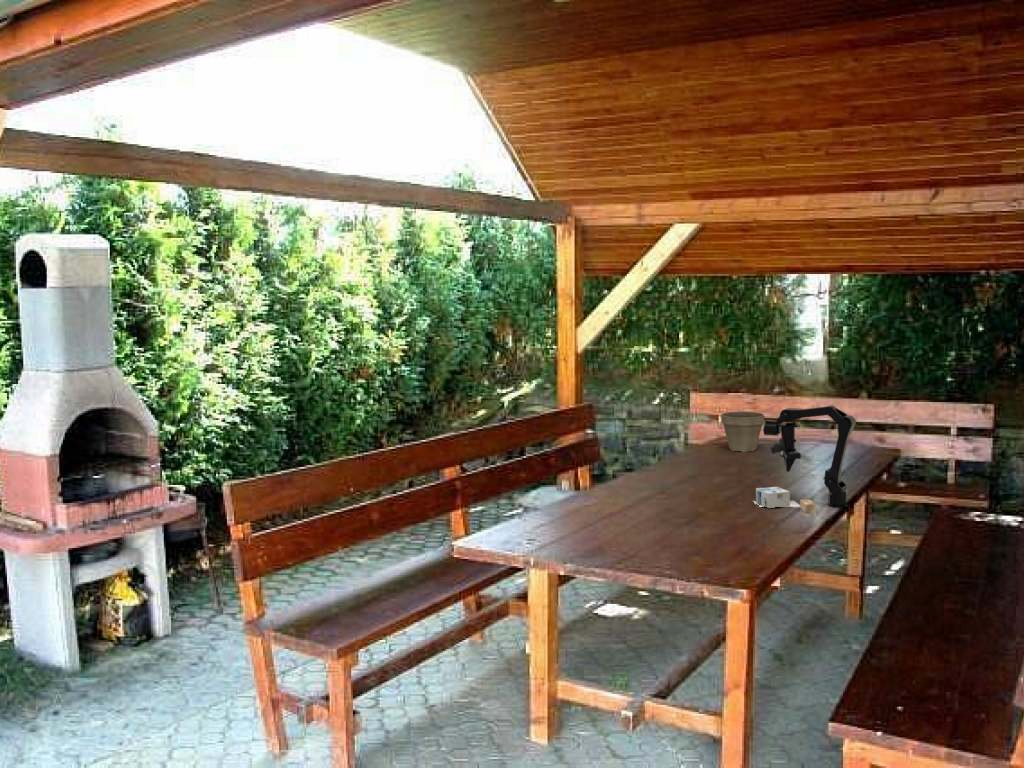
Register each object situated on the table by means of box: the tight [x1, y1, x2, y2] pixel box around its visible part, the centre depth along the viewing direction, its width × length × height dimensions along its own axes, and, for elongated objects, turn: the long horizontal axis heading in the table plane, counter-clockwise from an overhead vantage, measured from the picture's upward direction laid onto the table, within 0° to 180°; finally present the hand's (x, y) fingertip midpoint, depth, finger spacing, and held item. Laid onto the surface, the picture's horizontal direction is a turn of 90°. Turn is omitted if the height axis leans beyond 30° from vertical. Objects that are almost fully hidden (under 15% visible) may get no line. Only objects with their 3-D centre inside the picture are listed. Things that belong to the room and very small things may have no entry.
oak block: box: [799, 499, 817, 514], centre depth 382 cm, size 4×4×9 cm
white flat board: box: [752, 500, 800, 508], centre depth 394 cm, size 18×12×1 cm, turn 89°
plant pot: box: [720, 411, 765, 453], centre depth 534 cm, size 25×25×22 cm
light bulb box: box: [755, 486, 791, 509], centre depth 392 cm, size 11×7×11 cm
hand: (787, 471), depth 401 cm, fingers closed
